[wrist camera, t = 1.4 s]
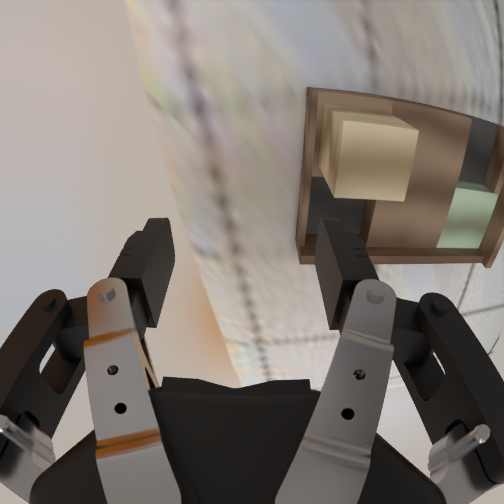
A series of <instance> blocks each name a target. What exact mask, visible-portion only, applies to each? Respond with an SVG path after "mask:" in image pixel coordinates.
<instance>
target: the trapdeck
mask: <svg viewBox="0 0 504 504" xmlns="http://www.w3.org/2000/svg"><path fill="white" fill-rule="evenodd" d="M324 104H333V105H343V106H352V107H360V108H368V109H375V110H382V111H387V112H389V113H391V114H392V115H394V116H396V117H398V118H399V119H401V120H403V121H404V122H406V123H408V124H409V125H411V126H412V127H414V128H416V129H417V130H419V133H418V139H417V144H416V150H415V155H414V160H413V165H412V169H411V174H410V178H409V183H408V187H407V191H406V195H405V199H404V201H389V200H372V199H353V198H334V196H333V194H332V192H331V190H330V188H329V186H328V184H327V182H326V180H325V178H324V176H323V174H322V172H321V170H320V168H319V155H320V145H321V133H322V121H323V107H324ZM321 218H328V219H340V220H341V222H342V224H343V227H344V229H345V231H346V232H354V233H355V234H356V235H357V236H358V237H359V238H360V239H361V240H362V242H363V244H364V246H365V250H366V251H367V253H368V255H369V256H368V257H370V260H371V262H372V264H442V263H482V264H483V266H484V267H485V268H491V266H492V264H493V262H494V260H495V258H496V256H497V253H498V251H499V249H500V247H501V245H502V242H503V240H504V127H503V126H501V125H498V124H495V123H492V122H489V121H486V120H482V119H479V118H476V117H473V116H469V115H466V114H462V113H458V112H455V111H451V110H447V109H443V108H439V107H435V106H431V105H426V104H422V103H417V102H412V101H407V100H402V99H397V98H391V97H385V96H379V95H373V94H366V93H359V92H351V91H343V90H333V89H323V88H310V87H307V98H306V116H305V132H304V147H303V161H302V174H301V186H300V198H299V209H298V220H297V231H296V246H297V251H298V257H299V262H300V264H315V249H316V242H317V235H318V228H319V222H320V219H321Z"/></svg>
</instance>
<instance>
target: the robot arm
mask: <svg viewBox="0 0 504 504" xmlns="http://www.w3.org/2000/svg"><path fill="white" fill-rule="evenodd" d="M368 256H369V255H368V253H367V251H366V250H365V246H364V244H363V242H362V240H361V239H360V238H359V237H358V236H357V235H356V234H355V233H354V232H346V231H345V229H344V227H343V224H342V222H341V220H340V219H328V218H321V219H320V222H319V228H318V235H317V242H316V249H315V267H316V271H317V275H318V280H319V284H320V288H321V293H322V297H323V302H324V306H325V311H326V315H327V320H328V325H329V330H339V332H340V339H339V342H338V345H337V348H336V351H335V353H334V356H333V359H332V362H331V365H330V368H329V371H328V373H327V376H326V379H325V382H324V384H323V387H322V390H321V392H320V391H317V390H312V389H311V388H310V380H309V379H301V380H273V381H268V382H264V383H260V384H255V385H251V386H246V387H242V388H230V387H226V386H222V385H218V384H214V383H210V382H207V381H204V380H200V379H191V378H176V377H163V381H162V386H161V387H160V386H159V384H158V381H157V378H156V375H155V371H154V368H153V364H152V361H151V357H150V354H149V350H148V347H147V342H146V339H145V336H144V334H145V331H146V327H149V328H156V327H157V324H158V320H159V317H160V313H161V309H162V306H163V302H164V298H165V295H166V292H167V288H168V285H169V281H170V278H171V274H172V271H173V268H174V263H175V250H174V244H173V239H172V232H171V226H170V221H169V219H168V218H149V219H148V221H147V223H146V225H145V227H144V229H143V231H136V232H135V233H134V234H133V235H132V236H130V237H129V238H128V240H127V241H126V243H125V245H124V248H123V249H122V251H121V253H120V256H118V258H117V260H116V263H115V264H114V266H113V268H112V270H111V272H110V274H109V276H108V278H106V279H103V280H100V281H98V282H97V283H95V284H94V285H93V286H92V287H91V288H90V289H89V291H88V294H87V296H84V297H79V298H75V299H70V300H67V298H66V295H65V294H64V292H63V291H61V290H58V289H52V290H48V291H46V292H44V293H42V294H41V295H40V296H38V297H37V298H36V299H35V301H34V302H33V303H32V305H31V306H30V307H29V309H28V310H27V311H26V313H25V314H24V315H23V317H22V318H21V320H20V321H19V322H18V324H17V325H16V326H15V328H14V329H13V331H12V332H11V333H10V335H9V336H8V338H7V339H6V341H5V342H4V344H3V345H2V347H1V348H0V482H1V483H2V484H3V485H5V486H6V487H7V488H9V489H10V490H11V491H13V492H14V493H15V494H17V495H18V496H19V497H21V498H22V499H24V500H25V501H27V502H28V503H29V504H469V503H470V502H472V501H473V500H475V499H476V498H478V497H479V496H481V495H482V494H484V493H485V492H487V491H489V490H491V489H493V488H495V487H497V486H500V485H502V484H503V483H504V381H503V379H502V378H501V376H500V374H499V372H498V371H497V369H496V367H495V366H494V364H493V362H492V361H491V359H490V358H489V356H488V354H487V353H486V351H485V350H484V348H483V346H482V345H481V343H480V342H479V340H478V339H477V337H476V336H475V334H474V333H473V331H472V330H471V328H470V327H469V325H468V324H467V323H466V321H465V320H464V318H463V317H462V315H461V314H460V313H459V311H458V310H457V308H456V307H455V306H454V304H453V303H452V302H451V301H450V300H449V299H448V298H447V297H445V296H443V295H441V294H438V293H426V294H424V295H423V296H422V297H421V299H420V301H419V303H418V302H413V301H409V300H404V299H400V298H398V297H396V294H395V292H394V290H393V289H392V288H391V287H390V286H389V285H388V284H386V283H384V282H382V281H380V280H379V278H378V275H377V273H376V271H375V269H374V266H373V264H372V262H371V260H370V257H368ZM52 344H53V346H54V347H55V350H54V352H53V353H52V355H51V357H50V359H49V360H48V362H47V363H46V365H45V367H44V369H43V370H42V372H41V374H40V371H39V367H40V363H41V361H42V359H43V358H44V356H45V354H46V352H47V351H48V349H49V348H50V346H51V345H52ZM434 352H435V354H436V355H437V357H438V359H439V361H440V363H441V364H442V366H443V368H444V370H445V374H444V372H443V370H442V369H441V367H440V365H439V363H438V362H437V360H436V358H435V356H434V355H433V353H434ZM392 360H394V362H395V365H396V367H397V369H398V371H399V373H400V375H401V377H402V379H403V381H404V383H405V385H406V387H407V389H408V391H409V393H410V396H411V398H412V400H413V402H414V404H415V406H416V408H417V411H418V413H419V415H420V417H421V419H422V422H423V424H424V426H425V428H426V431H427V433H428V435H429V437H430V440H431V442H432V445H433V446H432V448H431V450H430V453H429V463H428V469H429V471H430V472H431V473H430V479H429V478H428V477H427V476H426V475H425V474H423V473H422V472H421V471H420V470H419V469H418V468H416V467H415V466H414V465H413V464H412V463H410V462H409V461H408V460H407V459H406V458H405V457H404V456H403V455H401V454H400V453H399V452H398V451H397V450H396V449H395V448H393V447H392V446H391V445H390V444H389V443H388V442H387V441H386V440H384V439H383V438H382V437H381V436H380V435H379V434H378V433H376V430H377V427H378V423H379V419H380V415H381V411H382V407H383V402H384V398H385V393H386V389H387V384H388V379H389V374H390V368H391V363H392ZM85 370H86V377H87V384H88V393H89V398H90V399H89V400H90V405H91V412H92V418H93V424H94V430H93V431H92V432H90V433H89V434H88V435H87V436H86V437H84V438H83V439H82V440H81V441H80V442H78V443H77V444H76V445H75V446H74V447H72V448H71V449H70V450H69V451H68V452H66V453H65V454H64V455H63V456H62V457H60V458H59V459H58V460H57V461H56V462H55V454H54V452H53V444H52V441H51V439H52V437H53V435H54V433H55V430H56V428H57V426H58V424H59V422H60V420H61V418H62V416H63V413H64V411H65V409H66V407H67V405H68V403H69V401H70V399H71V397H72V395H73V393H74V391H75V389H76V387H77V385H78V383H79V381H80V380H81V378H82V376H83V374H84V372H85Z"/></svg>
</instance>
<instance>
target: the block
mask: <svg viewBox="0 0 504 504" xmlns="http://www.w3.org/2000/svg"><path fill="white" fill-rule="evenodd" d="M418 133H419V130H417V129H416V128H414V127H412V126H411V125H409V124H408V123H406V122H404V121H403V120H401V119H399V118H398V117H396V116H394V115H392V114H391V113H389V112H387V111H382V110H375V109H368V108H360V107H352V106H343V105H333V104H324V107H323V121H322V133H321V145H320V155H319V168H320V170H321V172H322V174H323V176H324V178H325V180H326V182H327V184H328V186H329V188H330V190H331V192H332V194H333V196H334V198H353V199H372V200H389V201H404V199H405V195H406V191H407V187H408V183H409V178H410V174H411V169H412V165H413V160H414V155H415V150H416V144H417V139H418Z"/></svg>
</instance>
